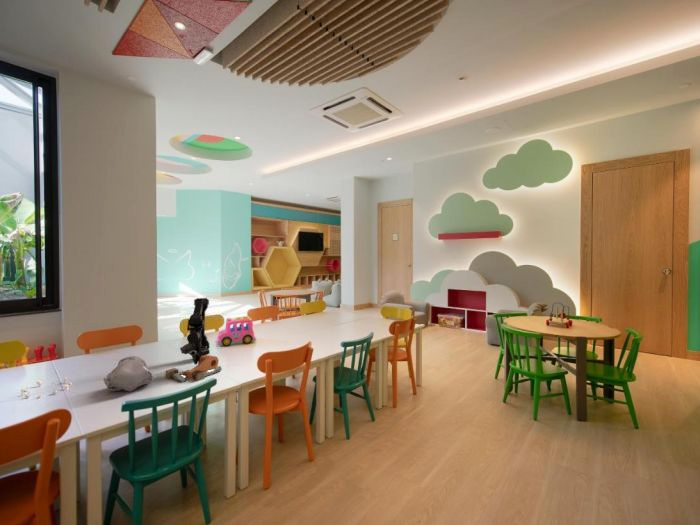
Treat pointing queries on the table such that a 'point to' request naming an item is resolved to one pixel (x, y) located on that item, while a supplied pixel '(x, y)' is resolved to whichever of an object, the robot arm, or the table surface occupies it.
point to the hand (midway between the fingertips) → (195, 364)
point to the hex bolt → (174, 375)
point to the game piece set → (40, 385)
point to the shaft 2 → (204, 373)
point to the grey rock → (128, 375)
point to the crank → (203, 365)
